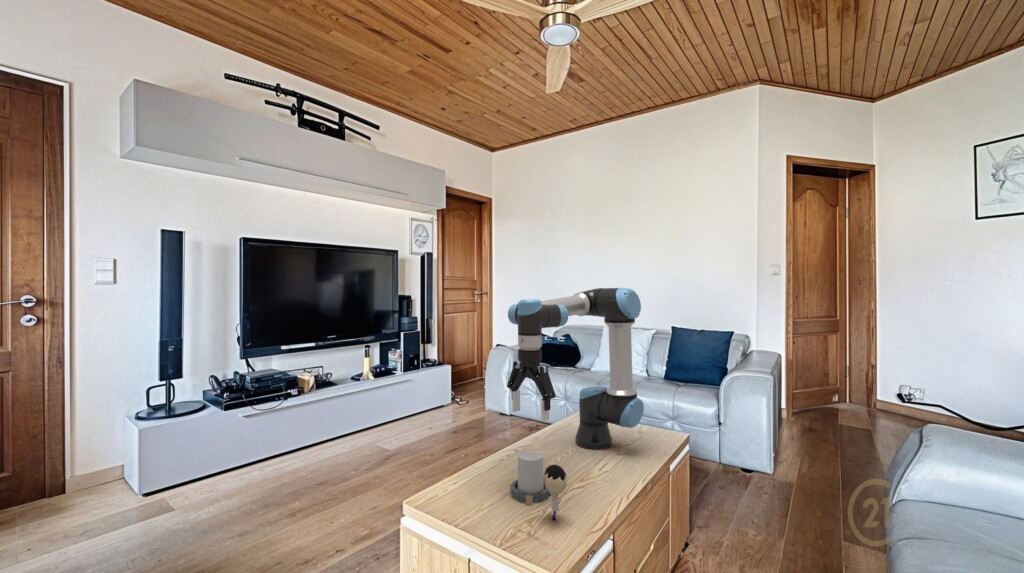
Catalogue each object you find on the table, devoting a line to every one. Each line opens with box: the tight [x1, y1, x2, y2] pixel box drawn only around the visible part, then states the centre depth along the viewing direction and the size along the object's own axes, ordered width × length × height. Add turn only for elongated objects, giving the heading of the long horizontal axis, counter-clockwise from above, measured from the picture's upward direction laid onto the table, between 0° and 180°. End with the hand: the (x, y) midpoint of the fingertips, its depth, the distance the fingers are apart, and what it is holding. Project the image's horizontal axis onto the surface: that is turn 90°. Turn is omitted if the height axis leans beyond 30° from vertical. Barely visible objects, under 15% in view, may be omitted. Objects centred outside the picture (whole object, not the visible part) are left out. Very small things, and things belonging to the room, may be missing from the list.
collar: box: [509, 478, 551, 506], centre depth 137 cm, size 12×12×2 cm
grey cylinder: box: [517, 450, 545, 494], centre depth 137 cm, size 8×8×12 cm
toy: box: [543, 464, 568, 521], centre depth 122 cm, size 9×7×15 cm
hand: (530, 415), depth 137 cm, fingers open, 13 cm apart
